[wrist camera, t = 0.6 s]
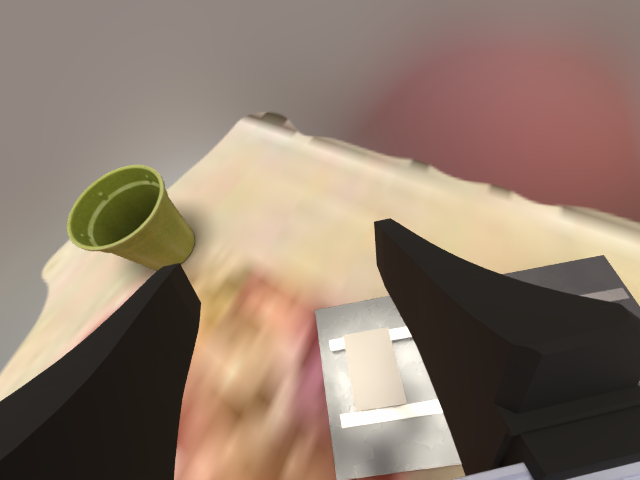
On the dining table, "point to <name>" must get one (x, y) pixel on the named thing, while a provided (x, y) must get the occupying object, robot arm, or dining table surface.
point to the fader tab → (373, 370)
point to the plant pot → (131, 219)
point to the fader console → (419, 377)
